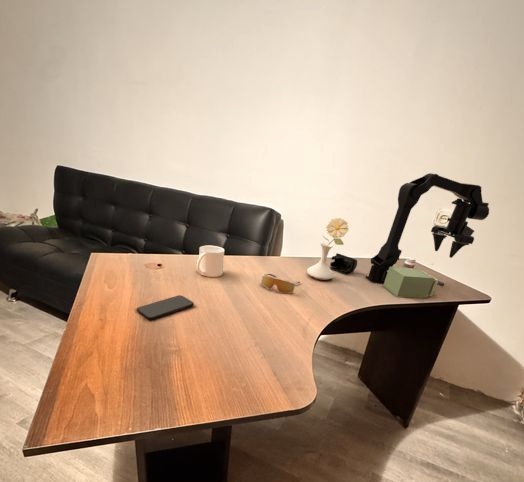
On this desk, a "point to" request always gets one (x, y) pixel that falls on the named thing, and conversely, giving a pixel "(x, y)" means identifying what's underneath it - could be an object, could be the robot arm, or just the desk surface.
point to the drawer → (434, 285)
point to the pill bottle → (409, 263)
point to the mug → (210, 261)
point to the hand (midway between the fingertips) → (443, 254)
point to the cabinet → (408, 282)
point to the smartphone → (164, 307)
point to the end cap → (343, 264)
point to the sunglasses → (278, 284)
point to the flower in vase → (335, 230)
